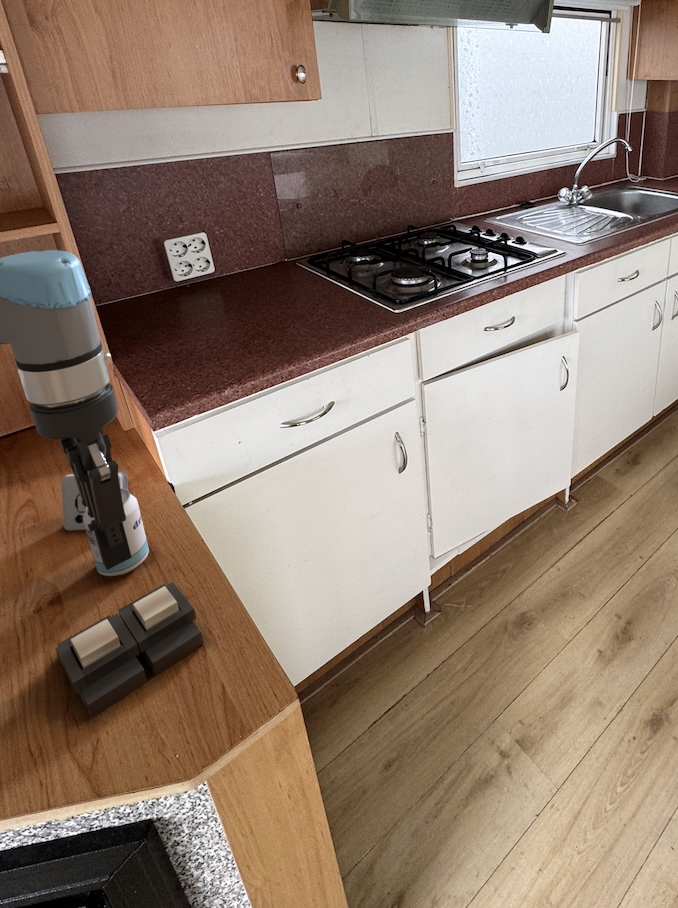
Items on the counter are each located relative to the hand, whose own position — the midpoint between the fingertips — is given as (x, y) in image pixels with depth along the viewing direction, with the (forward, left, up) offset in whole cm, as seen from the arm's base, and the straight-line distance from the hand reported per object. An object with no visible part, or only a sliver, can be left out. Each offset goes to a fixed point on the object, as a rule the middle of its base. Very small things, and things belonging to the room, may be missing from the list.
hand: (117, 560), depth 71 cm
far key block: (0, +3, -15) cm, 15 cm away
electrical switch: (-31, +5, -15) cm, 35 cm away
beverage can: (-18, +4, -15) cm, 23 cm away
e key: (0, +3, -11) cm, 12 cm away
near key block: (0, -4, -15) cm, 15 cm away
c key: (0, -4, -11) cm, 12 cm away
